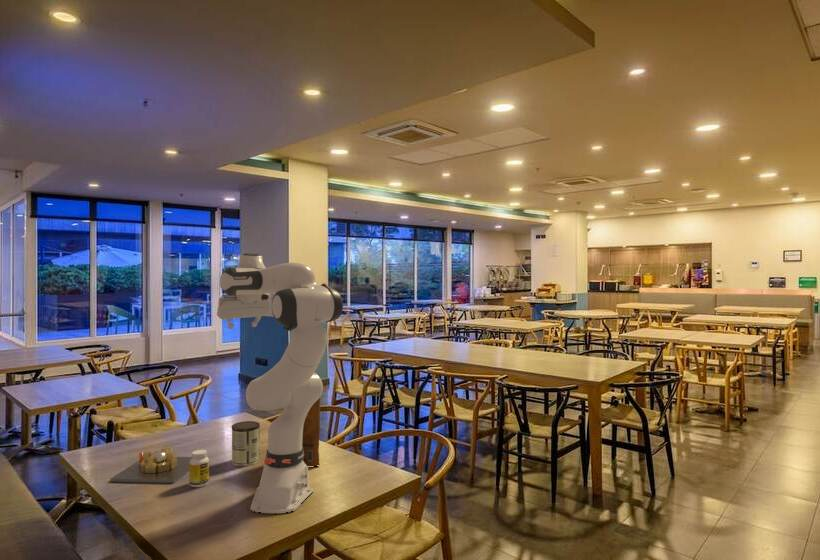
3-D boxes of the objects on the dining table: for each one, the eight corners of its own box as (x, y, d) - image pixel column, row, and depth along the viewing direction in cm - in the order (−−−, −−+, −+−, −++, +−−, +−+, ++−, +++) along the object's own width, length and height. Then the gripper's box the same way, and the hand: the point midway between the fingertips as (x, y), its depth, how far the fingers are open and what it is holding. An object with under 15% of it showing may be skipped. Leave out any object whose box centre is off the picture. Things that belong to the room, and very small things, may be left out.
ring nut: (166, 473, 179) (166, 458, 179) (134, 472, 179) (134, 457, 179) (184, 459, 192) (184, 445, 192) (154, 459, 193) (154, 445, 193)
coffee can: (238, 456, 200) (238, 420, 200) (263, 457, 199) (263, 421, 199) (226, 465, 190) (226, 428, 190) (253, 466, 189) (253, 429, 189)
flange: (173, 483, 173) (173, 464, 173) (110, 482, 174) (110, 463, 174) (202, 460, 195) (202, 443, 195) (146, 459, 196) (146, 442, 196)
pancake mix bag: (314, 471, 185) (314, 394, 185) (277, 461, 195) (277, 388, 195) (326, 465, 191) (327, 391, 190) (290, 456, 201) (290, 385, 201)
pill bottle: (201, 488, 169) (202, 455, 169) (185, 487, 171) (185, 454, 170) (212, 481, 175) (212, 449, 175) (196, 479, 177) (196, 448, 177)
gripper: (223, 298, 184) (219, 333, 187) (274, 295, 197) (270, 328, 201) (216, 292, 188) (212, 326, 191) (267, 290, 202) (263, 322, 205)
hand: (242, 327), depth 196 cm, fingers open, 8 cm apart
